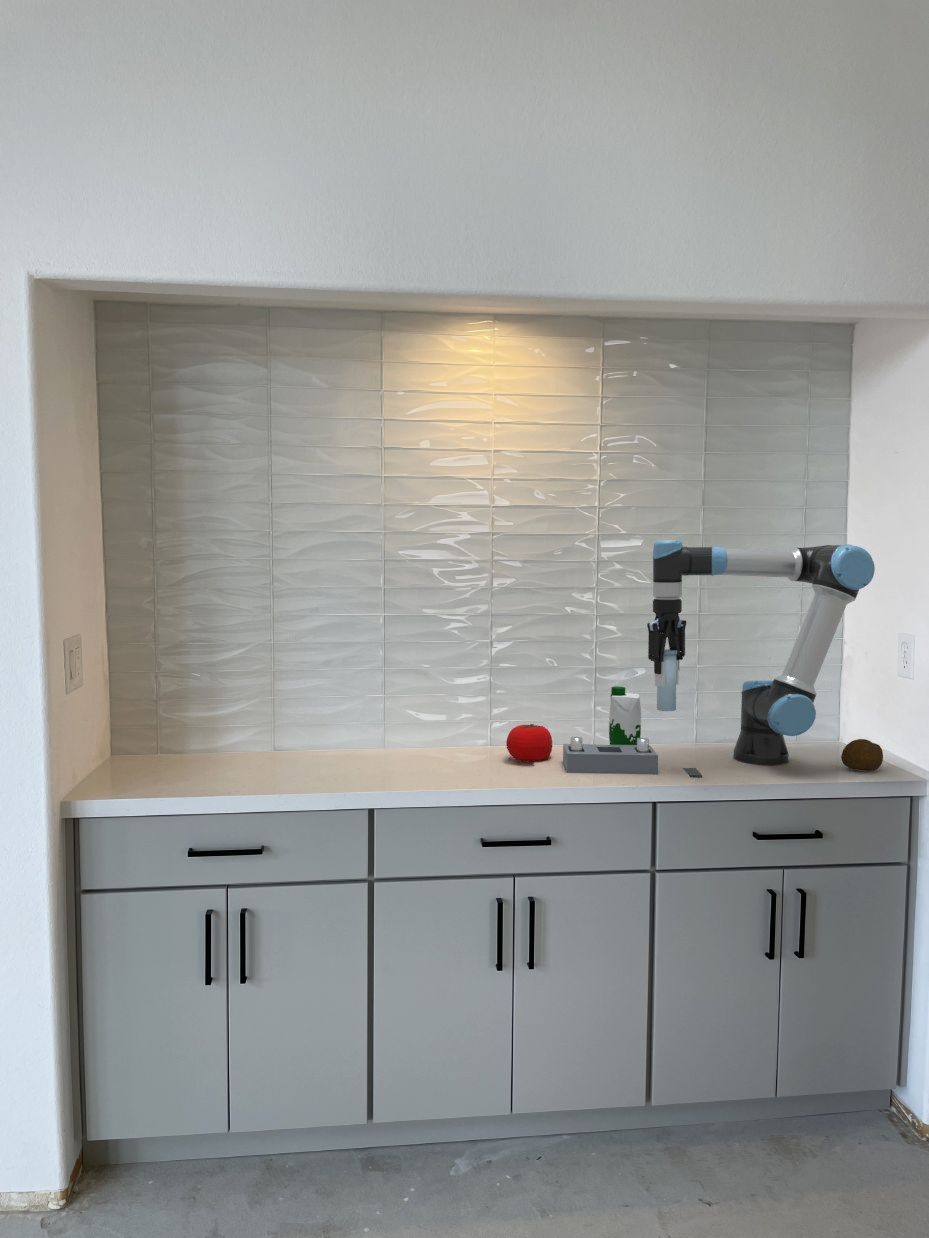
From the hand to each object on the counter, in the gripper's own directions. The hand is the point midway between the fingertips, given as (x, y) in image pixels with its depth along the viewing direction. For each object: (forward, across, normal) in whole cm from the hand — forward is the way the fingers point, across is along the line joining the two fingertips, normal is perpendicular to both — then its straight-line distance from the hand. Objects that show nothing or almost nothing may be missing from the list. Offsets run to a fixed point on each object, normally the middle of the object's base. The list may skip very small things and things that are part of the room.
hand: (666, 684), depth 241 cm
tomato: (+24, +21, -32) cm, 45 cm away
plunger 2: (+22, +4, -4) cm, 23 cm away
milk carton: (+24, -6, -20) cm, 32 cm away
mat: (+24, -3, +3) cm, 25 cm away
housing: (+24, +12, -10) cm, 28 cm away
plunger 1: (+21, +18, -16) cm, 32 cm away
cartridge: (+7, 0, 0) cm, 7 cm away
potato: (+26, -47, +30) cm, 62 cm away
